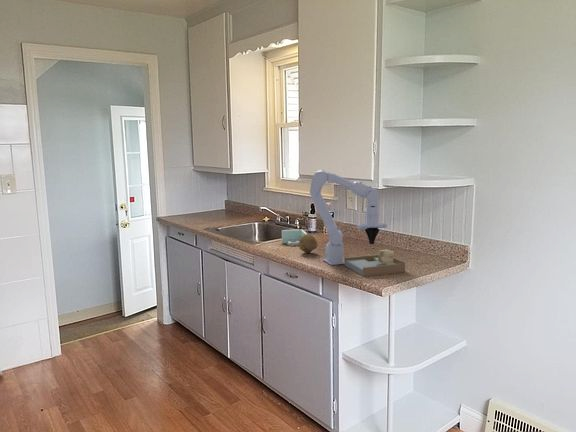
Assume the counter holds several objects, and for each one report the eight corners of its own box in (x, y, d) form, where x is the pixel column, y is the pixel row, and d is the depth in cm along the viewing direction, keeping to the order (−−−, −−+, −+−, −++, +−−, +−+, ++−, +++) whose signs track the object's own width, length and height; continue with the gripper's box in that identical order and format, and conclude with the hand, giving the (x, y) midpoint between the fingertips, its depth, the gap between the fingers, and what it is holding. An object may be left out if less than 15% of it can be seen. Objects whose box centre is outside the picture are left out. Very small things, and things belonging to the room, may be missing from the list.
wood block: (378, 261, 214) (378, 250, 213) (387, 260, 215) (387, 249, 215) (383, 263, 209) (383, 252, 208) (393, 262, 211) (393, 251, 210)
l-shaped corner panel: (281, 243, 264) (281, 230, 262) (302, 242, 266) (302, 229, 264) (285, 248, 252) (285, 234, 251) (307, 247, 254) (307, 233, 253)
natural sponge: (320, 252, 241) (320, 233, 239) (311, 256, 234) (311, 236, 232) (305, 250, 246) (305, 231, 244) (296, 253, 239) (296, 234, 237)
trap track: (344, 265, 216) (344, 255, 216) (382, 261, 223) (382, 252, 222) (363, 276, 199) (364, 265, 198) (404, 271, 205) (405, 261, 204)
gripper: (362, 217, 209) (361, 246, 212) (390, 215, 214) (389, 244, 216) (355, 214, 216) (354, 243, 218) (382, 213, 221) (382, 241, 223)
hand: (371, 243), depth 218 cm, fingers closed
